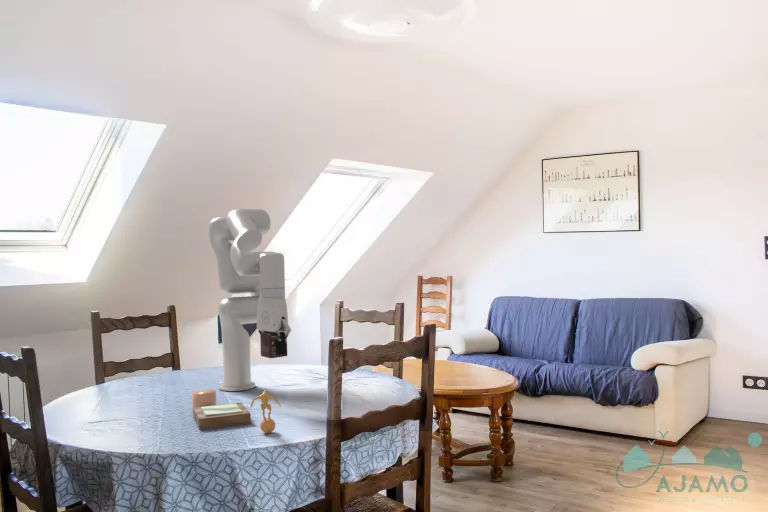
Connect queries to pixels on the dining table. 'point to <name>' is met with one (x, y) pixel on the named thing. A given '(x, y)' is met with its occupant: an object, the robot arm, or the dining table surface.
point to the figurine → (267, 423)
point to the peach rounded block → (203, 398)
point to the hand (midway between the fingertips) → (273, 352)
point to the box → (270, 345)
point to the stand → (221, 416)
